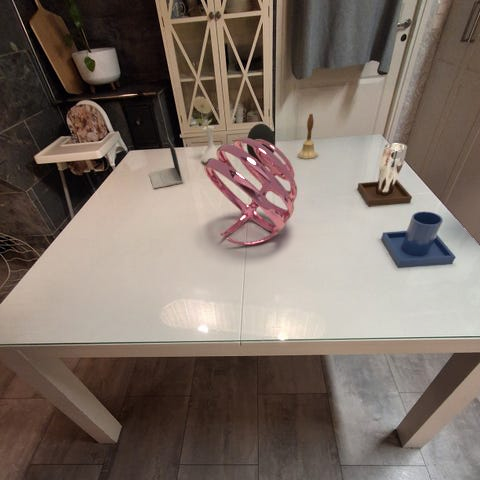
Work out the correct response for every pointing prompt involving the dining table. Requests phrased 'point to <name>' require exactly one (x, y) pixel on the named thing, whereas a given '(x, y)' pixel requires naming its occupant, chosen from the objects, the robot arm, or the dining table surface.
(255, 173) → the spiral basket
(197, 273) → the dining table surface
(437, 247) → the blue tray
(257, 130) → the decorative egg
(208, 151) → the flower in vase
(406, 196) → the walnut tray
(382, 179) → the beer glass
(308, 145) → the hand bell
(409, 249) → the blue cup
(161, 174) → the laptop
